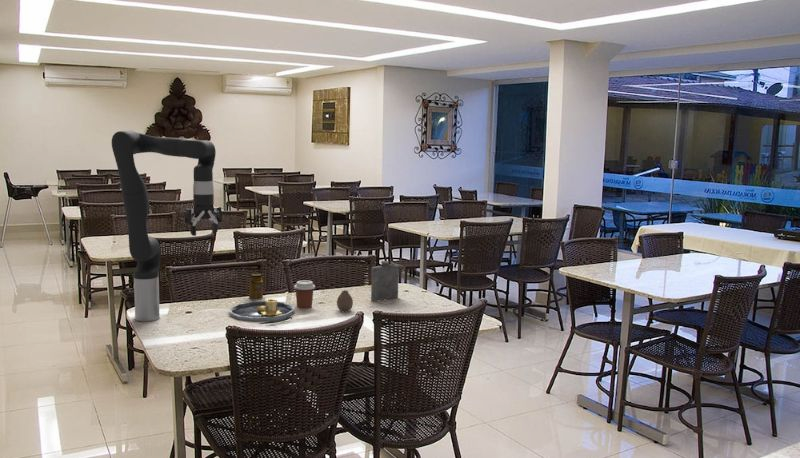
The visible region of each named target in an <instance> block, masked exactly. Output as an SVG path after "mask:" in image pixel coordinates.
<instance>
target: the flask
mask: <svg viewBox="0 0 800 458" xmlns="http://www.w3.org/2000/svg"><path fill="white" fill-rule="evenodd" d="M399 270H400V266H399V264H389V260H382V261H381V265H377V266H372V267H371V281H370V282H371V284H370V287H371V292H370V293H371V294H370V295H371V296H370V302H374V301H375V302H379V301H378V300H380V301H385V300H384V299H387V300H394V299H393V298H397V299H399V276H400V275H399V272H400V271H399Z"/></svg>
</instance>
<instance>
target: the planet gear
mask: <svg viewBox="0 0 800 458" xmlns="http://www.w3.org/2000/svg"><path fill="white" fill-rule="evenodd" d="M264 301H265V311H264V312H261V316H262V317H273V316H278V315H282V312H281V311H277V302H278V300H277V299H275V298H269V299H266V300H264Z"/></svg>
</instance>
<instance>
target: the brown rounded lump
mask: <svg viewBox="0 0 800 458" xmlns="http://www.w3.org/2000/svg"><path fill="white" fill-rule="evenodd" d="M353 305H354V300H353V297H352V296H351V294H350V293H349V290H348V289H347V290H344V289H343V290H342V291H341V293H340V294H339V295H338V297H337V299H336V306H337V307H336V308H337V309H338V310H339V311H340V312H342V311H347V312H349V310H350V311H351V310H352V308H353Z"/></svg>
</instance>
